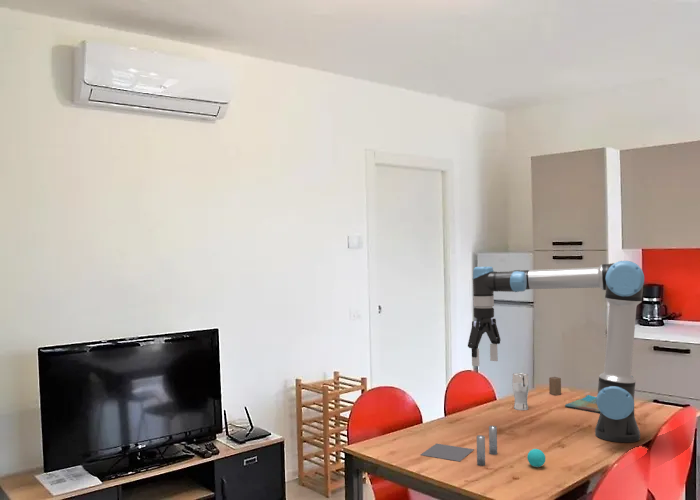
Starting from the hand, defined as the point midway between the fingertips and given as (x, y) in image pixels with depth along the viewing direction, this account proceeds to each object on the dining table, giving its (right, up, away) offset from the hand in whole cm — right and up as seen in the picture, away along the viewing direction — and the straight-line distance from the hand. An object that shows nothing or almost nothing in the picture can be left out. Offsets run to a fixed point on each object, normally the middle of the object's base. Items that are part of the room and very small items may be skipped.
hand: (485, 363), depth 232 cm
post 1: (-9, -26, -35) cm, 45 cm away
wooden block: (+47, -27, +62) cm, 82 cm away
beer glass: (+24, -27, +36) cm, 50 cm away
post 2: (-3, -26, -24) cm, 36 cm away
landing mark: (-18, -26, -23) cm, 39 cm away
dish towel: (+57, -27, +39) cm, 74 cm away
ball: (+8, -23, -38) cm, 45 cm away
